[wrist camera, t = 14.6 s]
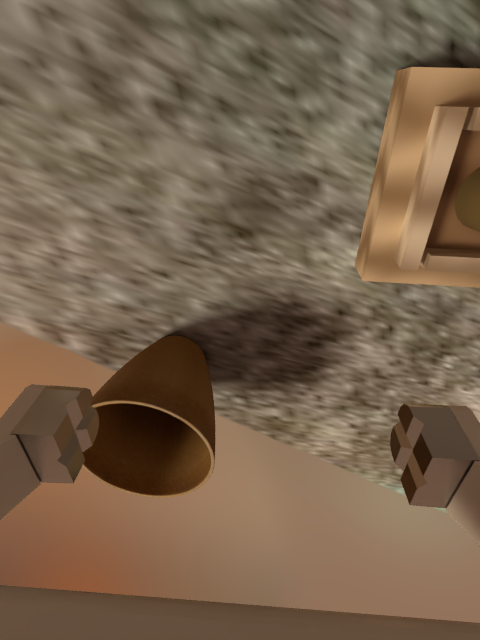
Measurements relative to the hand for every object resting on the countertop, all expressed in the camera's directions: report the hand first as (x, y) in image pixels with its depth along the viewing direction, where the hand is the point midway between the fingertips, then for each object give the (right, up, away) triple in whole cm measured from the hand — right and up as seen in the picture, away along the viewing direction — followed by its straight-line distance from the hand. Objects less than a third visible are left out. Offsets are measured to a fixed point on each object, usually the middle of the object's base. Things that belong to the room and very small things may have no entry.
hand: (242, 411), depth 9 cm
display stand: (+22, +16, +25) cm, 37 cm away
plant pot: (-9, -3, +40) cm, 41 cm away
